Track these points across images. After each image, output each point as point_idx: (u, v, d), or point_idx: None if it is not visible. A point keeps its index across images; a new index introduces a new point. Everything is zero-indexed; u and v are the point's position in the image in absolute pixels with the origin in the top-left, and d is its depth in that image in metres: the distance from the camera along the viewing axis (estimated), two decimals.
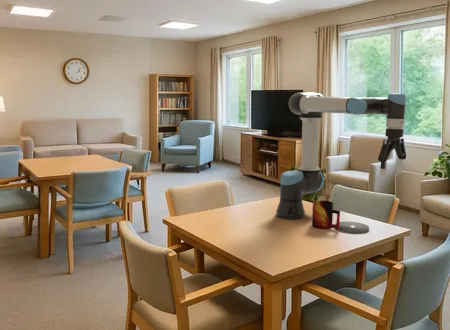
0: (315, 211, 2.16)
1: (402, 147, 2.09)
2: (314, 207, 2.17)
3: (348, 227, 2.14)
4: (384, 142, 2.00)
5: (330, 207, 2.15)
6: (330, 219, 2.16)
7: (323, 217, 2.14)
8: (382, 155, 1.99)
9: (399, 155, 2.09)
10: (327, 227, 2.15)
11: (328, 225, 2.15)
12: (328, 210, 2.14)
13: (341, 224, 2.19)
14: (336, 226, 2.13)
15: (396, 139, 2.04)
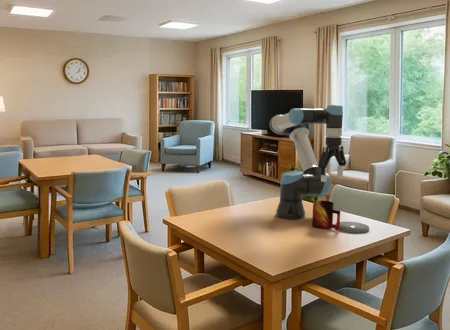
0: (315, 211, 2.16)
1: (342, 154, 2.24)
2: (314, 207, 2.17)
3: (348, 227, 2.14)
4: (323, 150, 2.15)
5: (330, 207, 2.14)
6: (330, 219, 2.16)
7: (323, 218, 2.14)
8: (322, 162, 2.13)
9: (339, 162, 2.24)
10: (327, 227, 2.15)
11: (328, 225, 2.15)
12: (328, 210, 2.14)
13: (341, 224, 2.19)
14: (336, 226, 2.12)
15: (335, 147, 2.18)
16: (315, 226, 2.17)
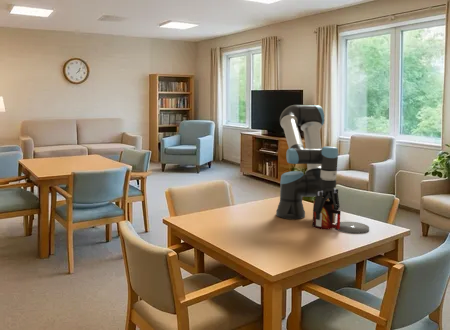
0: None
1: (336, 197, 2.20)
2: None
3: (348, 227, 2.14)
4: (317, 194, 2.12)
5: (331, 207, 2.14)
6: (331, 219, 2.16)
7: (323, 217, 2.14)
8: (316, 207, 2.12)
9: None
10: (327, 227, 2.15)
11: (328, 225, 2.15)
12: (329, 210, 2.14)
13: (341, 224, 2.19)
14: (336, 226, 2.12)
15: (330, 189, 2.15)
16: (315, 226, 2.17)
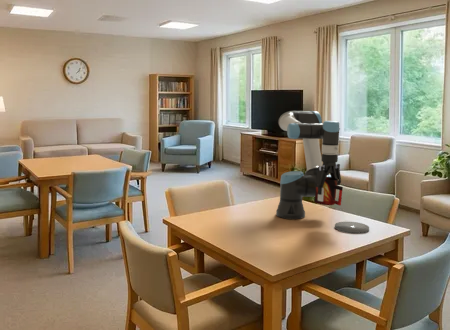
0: None
1: (337, 172, 2.19)
2: None
3: (348, 227, 2.14)
4: (319, 169, 2.11)
5: (333, 183, 2.13)
6: (333, 195, 2.14)
7: (325, 193, 2.13)
8: (318, 182, 2.10)
9: None
10: (329, 203, 2.14)
11: (330, 201, 2.14)
12: (331, 186, 2.13)
13: (341, 224, 2.19)
14: (338, 202, 2.11)
15: (331, 164, 2.14)
16: (317, 201, 2.16)
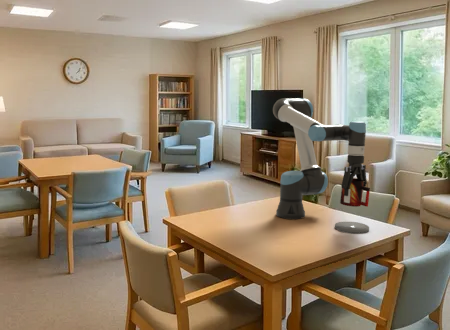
0: None
1: (363, 174, 2.17)
2: None
3: (348, 227, 2.14)
4: (345, 170, 2.09)
5: (360, 184, 2.11)
6: (359, 196, 2.12)
7: (352, 194, 2.11)
8: (345, 183, 2.08)
9: None
10: (355, 204, 2.12)
11: (357, 202, 2.12)
12: (358, 187, 2.11)
13: (341, 224, 2.19)
14: (365, 203, 2.08)
15: (357, 165, 2.12)
16: (343, 202, 2.14)
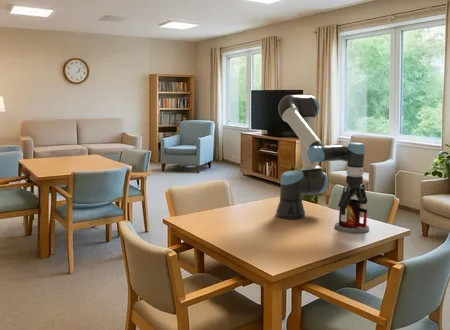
0: None
1: (363, 192, 2.19)
2: None
3: None
4: (344, 189, 2.10)
5: (357, 206, 2.12)
6: (357, 218, 2.14)
7: (349, 216, 2.13)
8: (342, 202, 2.09)
9: (360, 200, 2.19)
10: (354, 226, 2.13)
11: (355, 224, 2.13)
12: (355, 209, 2.12)
13: None
14: (363, 225, 2.10)
15: (356, 186, 2.14)
16: (341, 224, 2.16)
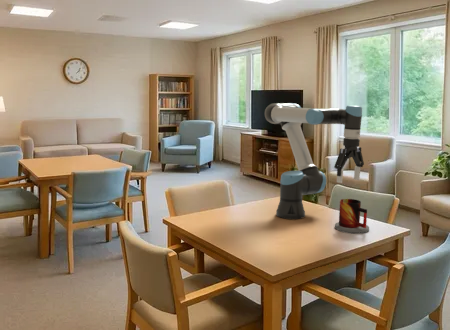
0: (342, 209, 2.15)
1: (359, 155, 2.22)
2: (341, 205, 2.15)
3: None
4: (340, 151, 2.14)
5: (357, 206, 2.12)
6: (357, 218, 2.14)
7: (349, 216, 2.13)
8: (338, 163, 2.13)
9: (357, 163, 2.23)
10: (354, 226, 2.13)
11: (355, 224, 2.13)
12: (355, 209, 2.12)
13: None
14: (363, 225, 2.10)
15: (353, 148, 2.17)
16: (341, 224, 2.16)
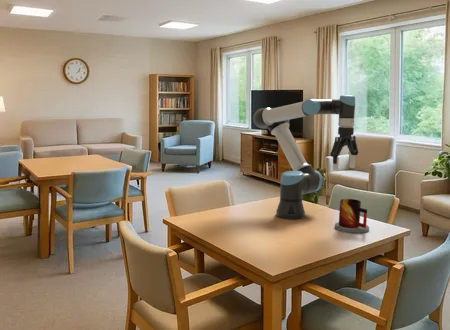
0: (342, 209, 2.15)
1: (354, 144, 2.29)
2: (341, 205, 2.15)
3: None
4: (336, 139, 2.21)
5: (357, 206, 2.12)
6: (357, 218, 2.14)
7: (349, 216, 2.13)
8: (334, 151, 2.20)
9: (351, 151, 2.30)
10: (354, 226, 2.13)
11: (355, 224, 2.13)
12: (355, 209, 2.12)
13: None
14: (363, 225, 2.10)
15: (347, 137, 2.24)
16: (341, 224, 2.16)
